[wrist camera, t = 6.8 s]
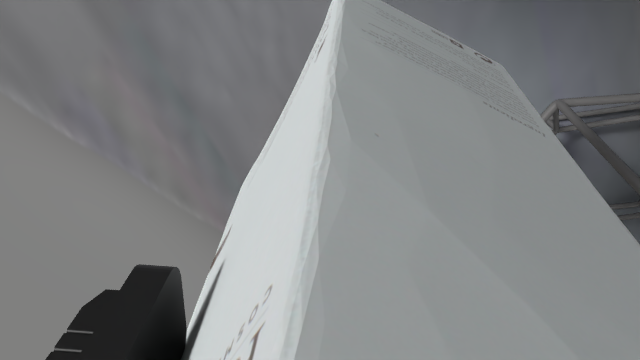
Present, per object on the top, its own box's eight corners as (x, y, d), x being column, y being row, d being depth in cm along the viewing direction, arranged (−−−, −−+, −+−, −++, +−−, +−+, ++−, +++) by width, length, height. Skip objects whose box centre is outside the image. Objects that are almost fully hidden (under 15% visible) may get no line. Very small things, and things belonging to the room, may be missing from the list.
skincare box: (342, -24, 16) (234, 324, 3) (514, 68, 17) (1059, 667, 4) (236, 196, 20) (-26, 795, 6) (383, 262, 21) (415, 912, 7)
